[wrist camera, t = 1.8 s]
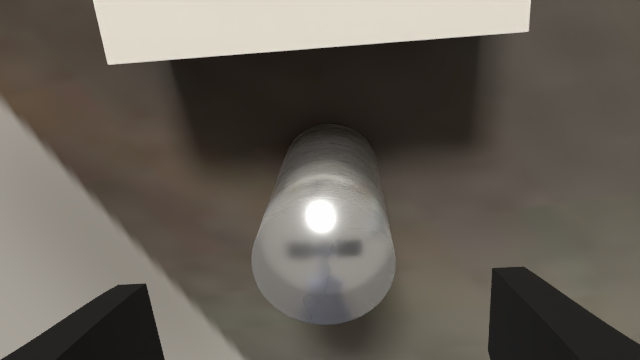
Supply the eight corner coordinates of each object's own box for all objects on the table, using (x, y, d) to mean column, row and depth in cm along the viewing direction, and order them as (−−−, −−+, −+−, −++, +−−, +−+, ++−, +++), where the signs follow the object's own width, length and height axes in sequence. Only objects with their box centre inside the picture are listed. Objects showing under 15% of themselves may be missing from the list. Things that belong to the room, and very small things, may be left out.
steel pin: (379, 209, 19) (397, 321, 13) (288, 214, 20) (260, 326, 13) (375, 120, 18) (393, 194, 11) (278, 127, 18) (242, 203, 12)
